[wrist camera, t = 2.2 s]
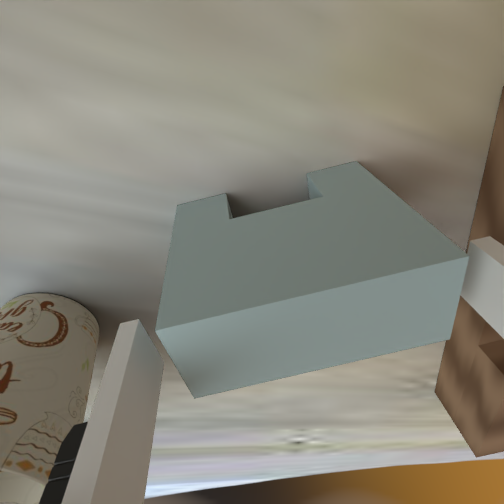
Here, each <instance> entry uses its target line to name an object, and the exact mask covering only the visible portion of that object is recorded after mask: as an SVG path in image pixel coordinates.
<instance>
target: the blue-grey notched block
mask: <svg viewBox="0 0 504 504" xmlns="http://www.w3.org/2000/svg"><path fill="white" fill-rule="evenodd" d="M307 181H308V190H309V198H310V200H306V201H302V202H298V203H294V204H290V205H286V206H282V207H278V208H274V209H270V210H265V211H261V212H257V213H253V214H249V215H245V216H241V217H237V218H233V216H232V213H231V209H230V206H229V202H228V198H227V195H226V193H225V194H221V195H217V196H213V197H209V198H205V199H201V200H197V201H193V202H189V203H185V204H181V205H177V210H176V215H175V221H174V227H173V232H172V238H171V243H170V249H169V255H168V260H167V266H166V271H165V277H164V283H163V288H162V294H161V299H160V305H159V311H158V316H157V322H156V327H155V332H156V334H157V335H158V337H159V339H160V341H161V342H162V344H163V346H164V347H165V349H166V351H167V353H168V354H169V356H170V358H171V359H172V361H173V363H174V365H175V366H176V368H177V370H178V371H179V373H180V375H181V377H182V378H183V380H184V382H185V383H186V385H187V387H188V389H189V390H190V392H191V394H192V395H193V397H194V399H195V398H199V397H203V396H208V395H212V394H216V393H221V392H225V391H229V390H234V389H238V388H242V387H247V386H251V385H255V384H259V383H264V382H268V381H272V380H277V379H281V378H285V377H290V376H294V375H298V374H303V373H307V372H311V371H316V370H320V369H324V368H329V367H333V366H337V365H341V364H346V363H350V362H354V361H359V360H363V359H367V358H372V357H376V356H380V355H385V354H389V353H393V352H398V351H402V350H406V349H411V348H415V347H419V346H424V345H428V344H432V343H436V342H441V341H445V340H449V339H450V337H451V333H452V329H453V324H454V320H455V316H456V311H457V307H458V303H459V299H460V294H461V290H462V286H463V282H464V277H465V273H466V269H467V265H468V260H469V255H468V254H466V253H465V252H464V251H463V250H462V249H460V248H459V247H458V246H457V245H456V244H454V243H453V242H452V241H451V240H450V239H449V238H447V237H446V236H445V235H444V234H443V233H441V232H440V231H439V230H438V229H437V228H435V227H434V226H433V225H432V224H431V223H429V222H428V221H427V220H426V219H425V218H423V217H422V216H421V215H420V214H419V213H418V212H416V211H415V210H414V209H413V208H412V207H410V206H409V205H408V204H407V203H406V202H404V201H403V200H402V199H401V198H400V197H398V196H397V195H396V194H395V193H394V192H393V191H391V190H390V189H389V188H388V187H387V186H385V185H384V184H383V183H382V182H381V181H379V180H378V179H377V178H376V177H375V176H373V175H372V174H371V173H370V172H369V171H368V170H366V169H365V168H364V167H363V166H362V165H360V164H359V163H358V162H357V161H355V162H351V163H347V164H343V165H339V166H335V167H330V168H326V169H322V170H318V171H314V172H310V173H307Z"/></svg>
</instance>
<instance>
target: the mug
mask: <svg viewBox="0 0 504 504" xmlns="http://www.w3.org/2000/svg"><path fill="white" fill-rule="evenodd" d="M98 339H99V326H98V323H97V321H96V319H95V317H94V316H93V315H92V314H91V312H90V311H88V310H87V309H86V308H85V307H84V306H82V305H80V304H79V303H77V302H75V301H73V300H71V299H68V298H66V297H62V296H59V295H54V294H46V293H33V294H26V295H22V296H19V297H16V298H14V299H12V300H10V301H9V302H7V303H6V304H5V305H4V306H2V307H1V308H0V504H39V502H40V499H41V496H42V494H43V491H44V488H45V486H46V484H47V483H48V478H49V475H50V472H51V470H52V467H54V462H55V459H56V456H57V454H58V451H59V448H60V446H61V443H62V442H63V440H64V439H65V437H66V436H67V434H68V433H69V431H70V430H71V429H72V427H73V426H74V425H76V424H81V423H83V421H84V416H85V410H86V405H87V400H88V394H89V389H90V383H91V378H92V372H93V367H94V362H95V356H96V351H97V345H98Z"/></svg>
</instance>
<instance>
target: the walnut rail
mask: <svg viewBox="0 0 504 504" xmlns="http://www.w3.org/2000/svg"><path fill="white" fill-rule="evenodd" d="M488 236H490V237H492V238H493V239H495V240H496V241H498V242H499V243H501V244H502V245H504V86H503V90H502V95H501V99H500V104H499V108H498V112H497V117H496V121H495V126H494V130H493V135H492V139H491V144H490V148H489V152H488V157H487V161H486V166H485V170H484V175H483V179H482V184H481V188H480V192H479V197H478V201H477V206H476V210H475V215H474V219H473V224H472V228H471V232H470V237H469V241H468V246H467V250H466V254H467V253H468V248H469V243H470V241H471V240H476V239H480V238H484V237H488ZM435 393H436V395H437V397H438V398H439V400H440V401H441V403H442V404H443V406H444V408H445V409H446V411H447V412H448V414H449V415H450V417H451V418H452V420H453V422H454V423H455V425H456V426H457V428H458V429H459V431H460V433H461V434H462V436H463V437H464V439H465V440H466V442H467V444H468V445H469V447H470V448H471V450H472V451H473V453H474V455H475V456H476V457H480V456H485V455H489V454H494V453H498V452H503V451H504V339H503V338H502V337H501V336H500V335H499V334H498V333H497V332H496V331H495V330H494V329H493V328H492V327H491V326H490V325H489V324H488V323H487V322H486V321H485V320H484V319H483V318H482V316H481V315H480V314H479V313H478V312H477V311H476V310H475V309H474V308H473V307H472V306H471V305H470V304H469V303H468V302H467V301H466V300H465V299H464V298H463V297H462V296H461V295H460V299H459V303H458V307H457V311H456V316H455V320H454V324H453V329H452V333H451V337H450V339H449V340H446V344H445V348H444V352H443V357H442V361H441V366H440V370H439V375H438V379H437V383H436V388H435Z"/></svg>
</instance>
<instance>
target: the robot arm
mask: <svg viewBox="0 0 504 504" xmlns="http://www.w3.org/2000/svg"><path fill="white" fill-rule="evenodd" d="M467 254H468V255H469V260H468V265H467V269H466V273H465V277H464V282H463V286H462V290H461V294H460V295H461V296H462V297H463V298H464V299H465V300H466V301H467V302H468V303H469V304H470V305H471V306H472V307H473V308H474V309H475V310H476V311H477V312H478V313H479V314H480V315H481V316H482V318H483V319H484V320H485V321H486V322H487V323H488V324H489V325H490V326H491V327H492V328H493V329H494V330H495V331H496V332H497V333H498V334H499V335H500V336H501V337H502V338H503V339H504V245H502V244H501V243H499V242H498V241H496V240H495V239H493V238H492V237H490V236H488V237H484V238H480V239H476V240H471V241H470V243H469V248H468V253H467ZM163 367H164V361H163V359H162V357H161V356H160V354H159V352H158V351H157V349H156V347H155V345H154V344H153V342H152V340H151V339H150V337H149V335H148V334H147V332H146V330H145V329H144V327H143V325H142V323H141V322H140V320H139V319H137V320H132V321H128V322H124V323H120V325H119V328H118V331H117V335H116V338H115V341H114V344H113V347H112V350H111V353H110V356H109V359H108V362H107V365H106V368H105V371H104V374H103V378H102V381H101V384H100V387H99V390H98V393H97V396H96V399H95V402H94V405H93V408H92V411H91V414H90V417H89V421H88V422H85V423H81V424H76V425H74V426H73V427H72V429H71V430H70V431H69V433H68V434H67V436H66V437H65V439H64V440H63V442H62V443H61V446H60V448H59V451H58V454H57V456H56V459H55V462H54V467H52V470H51V472H50V475H49V478H48V483H47V484H46V486H45V488H44V491H43V494H42V496H41V499H40V502H39V504H143V503H144V496H145V490H146V483H147V476H148V469H149V462H150V456H151V449H152V442H153V435H154V428H155V422H156V415H157V408H158V401H159V394H160V388H161V381H162V374H163Z"/></svg>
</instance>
